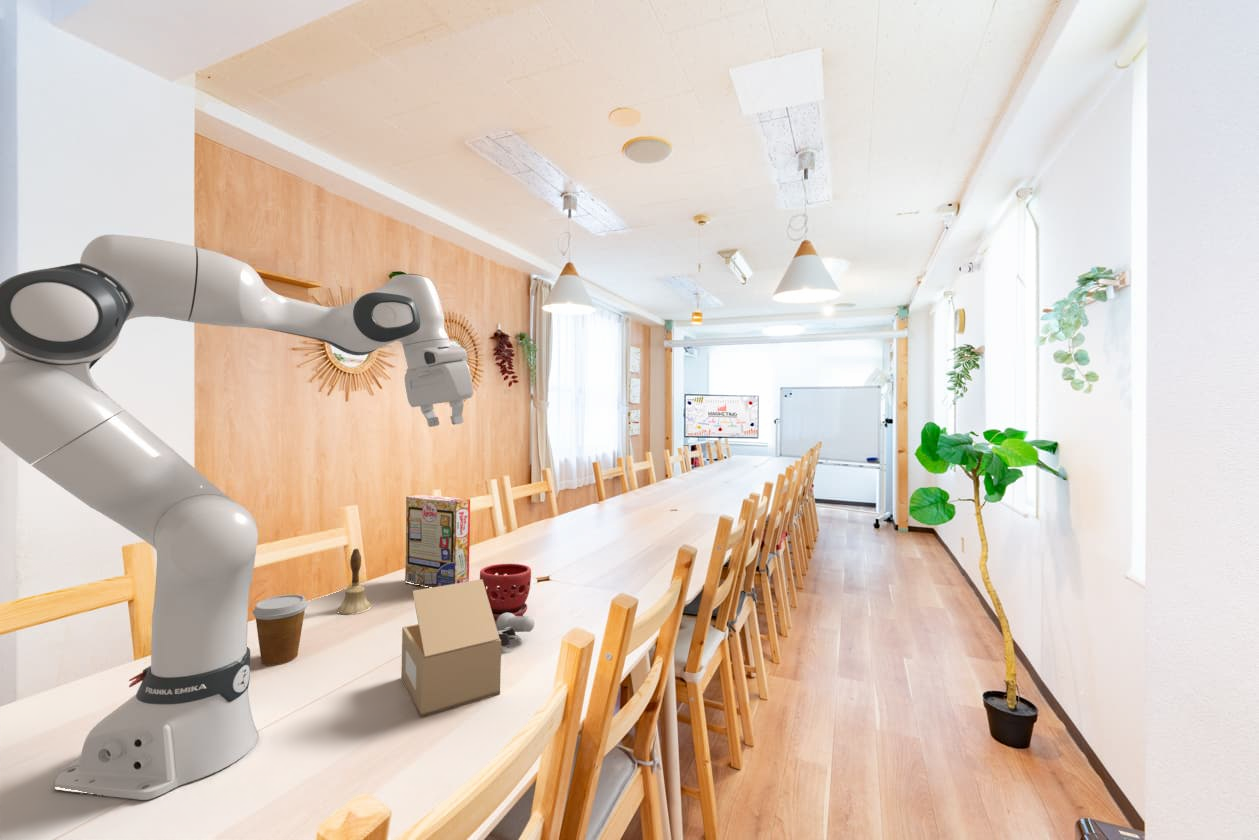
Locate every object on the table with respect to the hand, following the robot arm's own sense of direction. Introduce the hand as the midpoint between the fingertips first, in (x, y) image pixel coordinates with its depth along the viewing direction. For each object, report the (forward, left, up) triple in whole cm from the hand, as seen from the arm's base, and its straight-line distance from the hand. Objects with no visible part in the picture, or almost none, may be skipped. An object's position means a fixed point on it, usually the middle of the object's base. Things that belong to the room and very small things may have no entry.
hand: (445, 425), depth 103 cm
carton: (+3, -6, -50) cm, 50 cm away
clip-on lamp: (+8, +15, -50) cm, 53 cm away
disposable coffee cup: (-35, +7, -50) cm, 61 cm away
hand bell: (-32, +35, -50) cm, 69 cm away
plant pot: (+8, +30, -50) cm, 59 cm away
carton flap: (+5, -9, -35) cm, 37 cm away
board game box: (-16, +53, -50) cm, 74 cm away
